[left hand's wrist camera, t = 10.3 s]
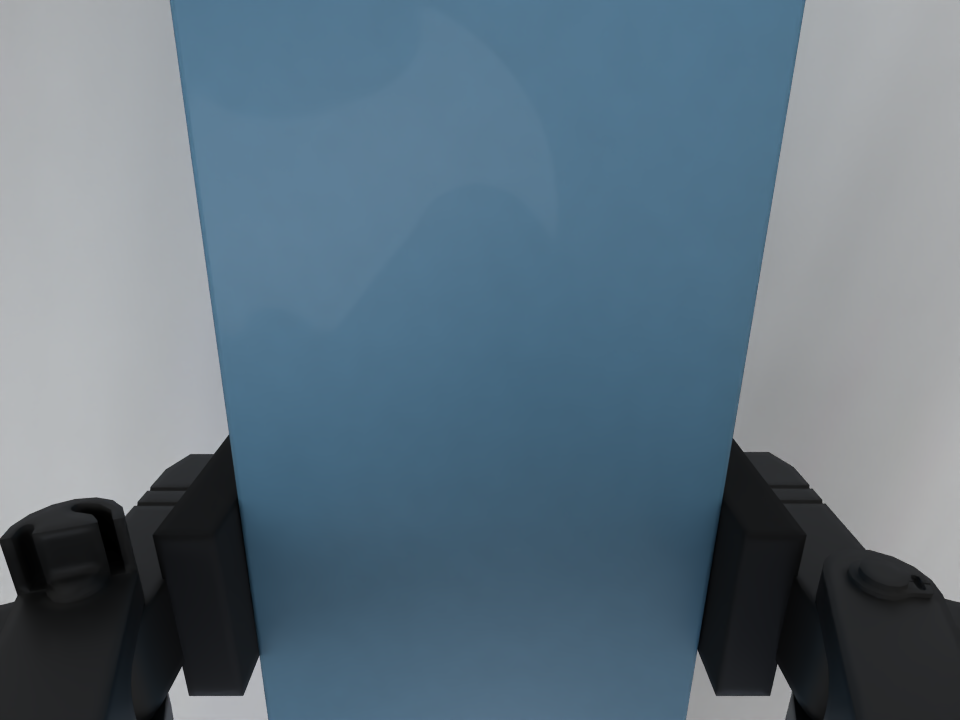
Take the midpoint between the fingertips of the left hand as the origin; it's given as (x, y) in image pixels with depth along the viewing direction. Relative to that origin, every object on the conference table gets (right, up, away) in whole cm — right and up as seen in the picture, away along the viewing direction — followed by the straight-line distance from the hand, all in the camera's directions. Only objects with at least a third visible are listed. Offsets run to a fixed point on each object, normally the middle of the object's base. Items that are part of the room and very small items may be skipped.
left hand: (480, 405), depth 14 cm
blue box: (0, +5, +2) cm, 5 cm away
